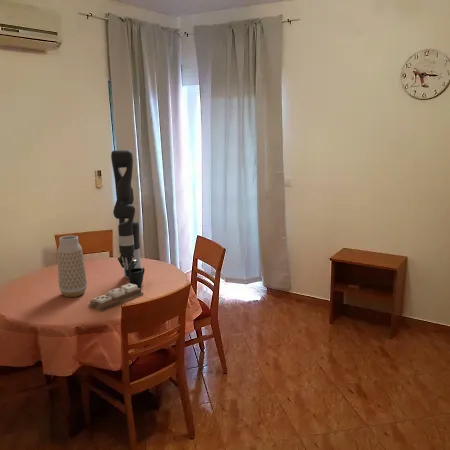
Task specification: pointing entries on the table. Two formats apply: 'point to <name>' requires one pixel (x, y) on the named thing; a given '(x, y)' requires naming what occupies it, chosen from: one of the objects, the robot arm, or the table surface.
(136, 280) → the mug
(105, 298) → the tile three
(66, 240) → the vase
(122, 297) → the board
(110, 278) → the table surface
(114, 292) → the tile two
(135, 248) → the robot arm
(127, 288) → the tile one
